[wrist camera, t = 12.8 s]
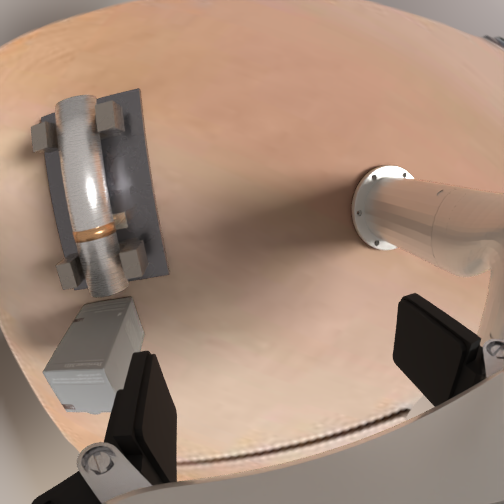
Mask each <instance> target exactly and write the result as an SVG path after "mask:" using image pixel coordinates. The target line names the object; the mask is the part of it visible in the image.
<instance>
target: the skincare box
mask: <svg viewBox="0 0 504 504" xmlns="http://www.w3.org/2000/svg"><path fill="white" fill-rule="evenodd" d="M143 338H144V331H143V328H142V325H141V323H140V320H139V317H138V314H137V311H136V308H135V305H134V302H133V299H132V297H128V298H121V299H114V300H107V301H101V302H96V303H91V304H86V305H84V306H83V307H82V309H81V310H80V312H79V313H78V315H77V316H76V318H75V320H74V321H73V323H72V324H71V326H70V327H69V329H68V331H67V332H66V334H65V335H64V337H63V339H62V340H61V342H60V344H59V345H58V347H57V349H56V350H55V352H54V354H53V355H52V357H51V359H50V360H49V362H48V364H47V366H46V367H45V369H44V371H43V374H44V376H45V378H46V379H47V381H48V383H49V384H50V386H51V388H52V389H53V391H54V392H55V394H56V396H57V397H58V399H59V401H60V402H61V404H62V405H63V407H64V408H65V410H66V411H67V412H87V413H90V414H100V413H102V412H111V411H112V407H113V403H114V399H115V396H116V393H117V391H118V390H119V389H123V388H124V384H125V380H126V376H127V373H128V369H129V365H130V362H131V358H132V354H133V353H134V352H140V350H141V346H142V342H143Z"/></svg>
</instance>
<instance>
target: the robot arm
mask: <svg viewBox="0 0 504 504" xmlns="http://www.w3.org/2000/svg"><path fill="white" fill-rule="evenodd" d="M357 211H358V213H357ZM352 219H353V224H354V226H355V229H356V231H357V233H358V235H359V236H360V238H361V239H362V240H363V241H364V242H365V243H367V244H368V245H370V246H371V247H373V248H376V249H379V250H392V249H396V248H400V249H402V250H404V251H406V252H409V253H411V254H413V255H415V256H417V257H419V258H421V259H423V260H425V261H427V262H429V263H431V264H433V265H435V266H437V267H439V268H441V269H443V270H445V271H447V272H449V273H451V274H453V275H456V276H459V277H473V276H477V275H480V274H482V273H484V272H486V271H488V270H490V269H491V276H490V282H489V287H488V289H489V290H488V295H487V299H486V303H485V307H484V311H483V315H482V319H481V323H480V326H479V330H478V333H477V335H476V334H475V333H473V332H472V331H471V330H469V329H468V328H466V327H465V326H463V325H462V324H461V323H459V322H458V321H456V320H455V319H453V318H452V317H451V316H449V315H448V314H446V313H445V312H443V311H442V310H440V309H439V308H437V307H436V306H434V305H433V304H432V303H430V302H429V301H427V300H426V299H424V298H423V297H421V296H420V295H418V294H416V293H413V294H410V295H407V296H404V297H402V299H401V301H400V302H399V304H398V314H397V324H396V334H395V342H394V350H393V360H394V363H395V364H396V365H397V366H398V367H399V368H400V369H401V370H402V371H403V373H404V374H405V375H406V376H407V377H408V378H409V379H410V380H411V381H412V382H413V383H414V384H415V386H416V387H417V388H418V389H419V390H420V391H421V392H422V393H423V394H424V395H425V397H426V398H427V399H428V400H429V401H430V402H431V403H432V404H433V405H434V406H435V407H434V408H432V409H430V410H428V411H426V412H424V413H422V414H420V415H418V416H416V417H414V418H411V419H409V420H407V421H405V422H403V423H400V424H398V425H396V426H394V427H391V428H389V429H387V430H384V431H382V432H379V433H377V434H374V435H372V436H369V437H366V438H364V439H361V440H358V441H356V442H353V443H350V444H347V445H344V446H341V447H338V448H335V449H332V450H329V451H326V452H323V453H319V454H316V455H313V456H309V457H305V458H302V459H298V460H294V461H290V462H286V463H282V464H278V465H274V466H269V467H265V468H260V469H255V470H250V471H244V472H239V473H234V474H228V475H222V476H215V477H208V478H200V479H193V480H186V481H179V482H177V468H176V440H177V413H176V408H175V405H174V403H173V400H172V398H171V395H170V393H169V390H168V387H167V385H166V382H165V379H164V377H163V374H162V371H161V368H160V365H159V363H158V360H157V357H156V355H155V354H150V352H149V351H142V352H134V353H133V354H132V358H131V362H130V365H129V369H128V373H127V376H126V380H125V384H124V388H123V389H119V390H118V391H117V393H116V396H115V399H114V403H113V407H112V411H111V415H110V419H109V423H108V427H107V431H106V435H105V439H104V442H99V443H94V444H91V445H89V446H87V447H86V448H85V449H83V450H82V451H81V453H80V454H79V456H78V458H77V467H78V470H79V471H78V472H77V473H75V474H74V475H72V476H70V477H69V478H67V479H66V480H64V481H63V482H61V483H60V484H58V485H56V486H55V487H53V488H52V489H50V490H48V491H47V492H45V493H43V494H42V495H40V496H38V497H37V498H36V499H35V500H34V501H33V502H32V504H504V193H497V192H490V191H483V190H477V189H472V188H466V187H460V186H455V185H449V184H443V183H437V182H430V181H424V180H417V179H414V178H413V177H412V175H411V174H409V173H408V172H407V171H406V170H404V169H402V168H400V167H397V166H391V165H386V166H380V167H377V168H375V169H373V170H371V171H369V172H368V173H367V174H366V175H365V176H364V177H363V178H362V180H361V181H360V182H359V184H358V186H357V188H356V190H355V193H354V196H353V201H352Z"/></svg>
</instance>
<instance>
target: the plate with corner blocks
mask: <svg viewBox="0 0 504 504" xmlns="http://www.w3.org/2000/svg"><path fill="white" fill-rule="evenodd" d="M95 113H96V123H97V132H99V133H100V139H101V147H102V155H103V162H104V169H105V175H106V181H107V187H108V193H109V198H110V204H111V209H112V214H113V219H114V222H115V227H116V233H117V238H118V242H119V246H120V253H119V255H120V259H121V263H122V267H123V271H124V275H125V279H128V281H134V280H140V279H146V278H152V277H158V276H163V275H169V273H170V270H169V266H168V261H167V257H166V252H165V247H164V242H163V237H162V232H161V227H160V222H159V217H158V211H157V206H156V200H155V194H154V188H153V182H152V176H151V169H150V163H149V156H148V149H147V142H146V134H145V126H144V118H143V109H142V99H141V90H140V89H139V88H138V89H134V90H130V91H125V92H121V93H117V94H113V95H110V96H106V97H102V98H99V99H97V105H95ZM41 121H42V123H39V124H37V125H34V126H32V127H31V135H32V146H33V152H40V153H45V161H46V168H47V175H48V181H49V187H50V193H51V199H52V204H53V209H54V214H55V219H56V223H57V228H58V232H59V236H60V240H61V244H62V248H63V252H64V256H65V258H64V259H63V260H62V261H61V262H59V263H58V264H57V265H56V268H57V271H58V275H59V278H60V281H61V284H62V288H63V290H65V289H71V288H74V290H80V289H86V288H88V286H87V283H86V279H85V276H84V273H83V269H82V265H81V262H80V258H79V254H78V250H77V246H76V243H75V240H74V236H73V230H72V225H71V221H70V216H69V211H68V206H67V201H66V195H65V190H64V184H63V178H62V171H61V164H60V157H59V149H58V140H57V130H56V118H55V113H52V114H49V115H47V116H44V117H41Z"/></svg>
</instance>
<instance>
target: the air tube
mask: <svg viewBox="0 0 504 504" xmlns="http://www.w3.org/2000/svg"><path fill="white" fill-rule="evenodd" d="M95 105H97V99H96V96H93V95H80V96H75V97H71V98H67V99H65V100H62V101H60V102H58V103H57V104H56V105H55V118H56V130H57V140H58V149H59V157H60V164H61V171H62V178H63V184H64V190H65V195H66V201H67V206H68V211H69V216H70V221H71V225H72V230H73V236H74V240H75V243H76V246H77V250H78V254H79V258H80V262H81V265H82V269H83V273H84V276H85V279H86V283H87V286H88V289H89V293H90V295H91V296H92V297H106V296H110V295H113V294H116V293H118V292H121V291H122V290H124V289H125V288H126V287H127V286H128V285H129V282H128V279H125V275H124V271H123V267H122V263H121V259H120V255H119V253H120V246H119V242H118V238H117V233H116V227H115V222H114V219H113V214H112V209H111V204H110V198H109V193H108V187H107V181H106V175H105V169H104V162H103V155H102V147H101V139H100V133H99V132H97V123H96V113H95Z"/></svg>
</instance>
